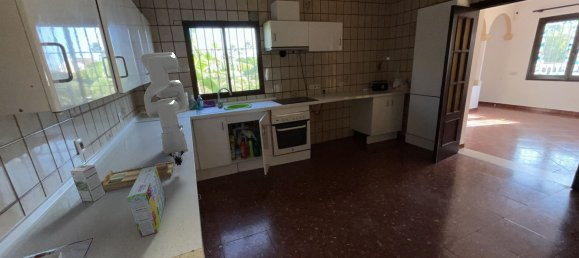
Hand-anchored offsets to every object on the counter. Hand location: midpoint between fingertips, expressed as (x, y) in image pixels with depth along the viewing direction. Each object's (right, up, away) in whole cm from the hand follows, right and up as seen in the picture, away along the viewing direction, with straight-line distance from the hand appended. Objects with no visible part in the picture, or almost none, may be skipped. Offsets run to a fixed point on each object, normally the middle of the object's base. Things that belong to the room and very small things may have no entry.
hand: (179, 164), depth 115 cm
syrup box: (-28, -12, -16) cm, 35 cm away
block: (-8, -3, -2) cm, 8 cm away
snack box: (+6, -14, -31) cm, 35 cm away
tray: (-18, -6, -1) cm, 19 cm away
